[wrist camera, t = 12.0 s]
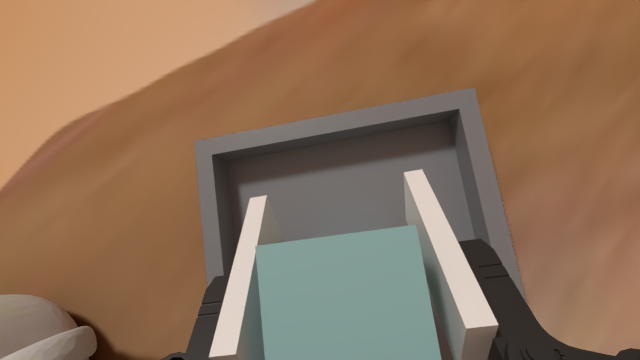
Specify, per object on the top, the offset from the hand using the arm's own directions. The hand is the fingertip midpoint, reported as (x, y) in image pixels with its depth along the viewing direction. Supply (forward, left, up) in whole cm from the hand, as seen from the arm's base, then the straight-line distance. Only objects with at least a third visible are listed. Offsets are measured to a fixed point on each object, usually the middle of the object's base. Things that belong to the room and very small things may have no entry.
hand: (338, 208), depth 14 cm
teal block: (0, -4, -5) cm, 6 cm away
